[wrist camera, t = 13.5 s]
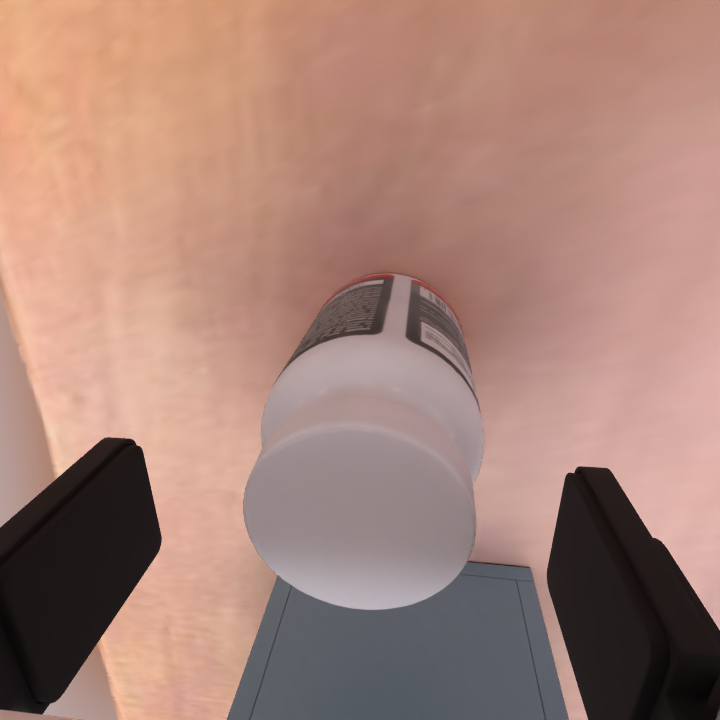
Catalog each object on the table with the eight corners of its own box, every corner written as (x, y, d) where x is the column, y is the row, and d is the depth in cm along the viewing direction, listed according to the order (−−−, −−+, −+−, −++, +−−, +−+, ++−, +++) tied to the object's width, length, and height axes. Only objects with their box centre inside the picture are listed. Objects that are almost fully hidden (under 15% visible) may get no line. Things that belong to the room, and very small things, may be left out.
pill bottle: (312, 395, 20) (215, 600, 11) (320, 260, 17) (206, 377, 8) (449, 416, 19) (470, 649, 10) (477, 280, 17) (537, 427, 8)
